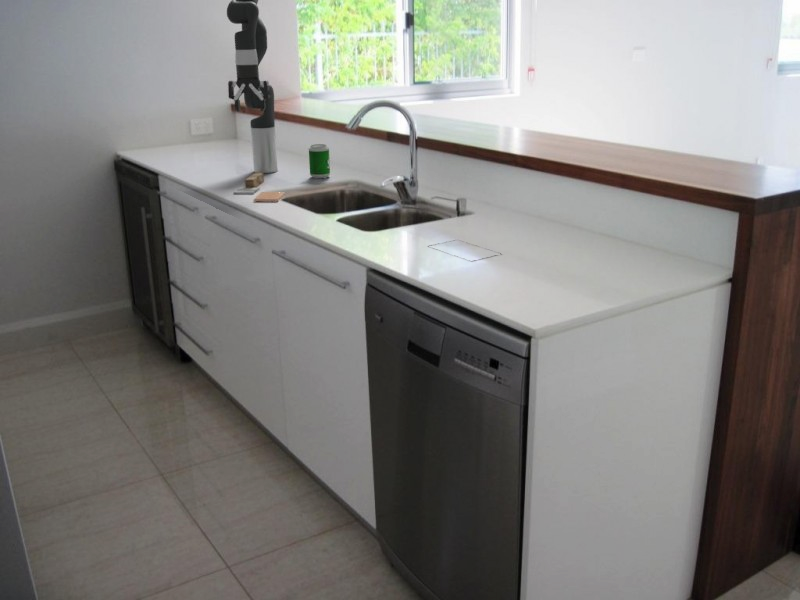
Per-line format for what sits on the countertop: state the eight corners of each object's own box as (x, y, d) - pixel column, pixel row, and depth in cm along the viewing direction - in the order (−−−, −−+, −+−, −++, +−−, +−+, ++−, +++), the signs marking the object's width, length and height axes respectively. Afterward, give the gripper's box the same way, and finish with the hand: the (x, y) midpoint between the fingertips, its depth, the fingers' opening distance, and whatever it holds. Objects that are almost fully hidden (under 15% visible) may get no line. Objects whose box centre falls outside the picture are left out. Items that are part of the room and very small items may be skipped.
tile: (261, 192, 270) (253, 199, 260) (284, 192, 269) (277, 199, 259) (262, 196, 270) (254, 203, 260) (285, 196, 270) (278, 203, 260)
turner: (250, 182, 293) (250, 172, 292) (269, 182, 292) (268, 172, 291) (233, 194, 272) (232, 184, 271) (253, 194, 272) (252, 184, 270)
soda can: (326, 179, 295) (325, 147, 291) (307, 178, 296) (305, 146, 292) (332, 175, 302) (331, 144, 298) (313, 175, 303) (312, 143, 299)
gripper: (269, 62, 276) (272, 109, 282) (230, 62, 277) (233, 110, 283) (264, 63, 269) (267, 112, 275) (223, 64, 270) (227, 112, 276)
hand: (250, 111), depth 279 cm, fingers open, 8 cm apart
